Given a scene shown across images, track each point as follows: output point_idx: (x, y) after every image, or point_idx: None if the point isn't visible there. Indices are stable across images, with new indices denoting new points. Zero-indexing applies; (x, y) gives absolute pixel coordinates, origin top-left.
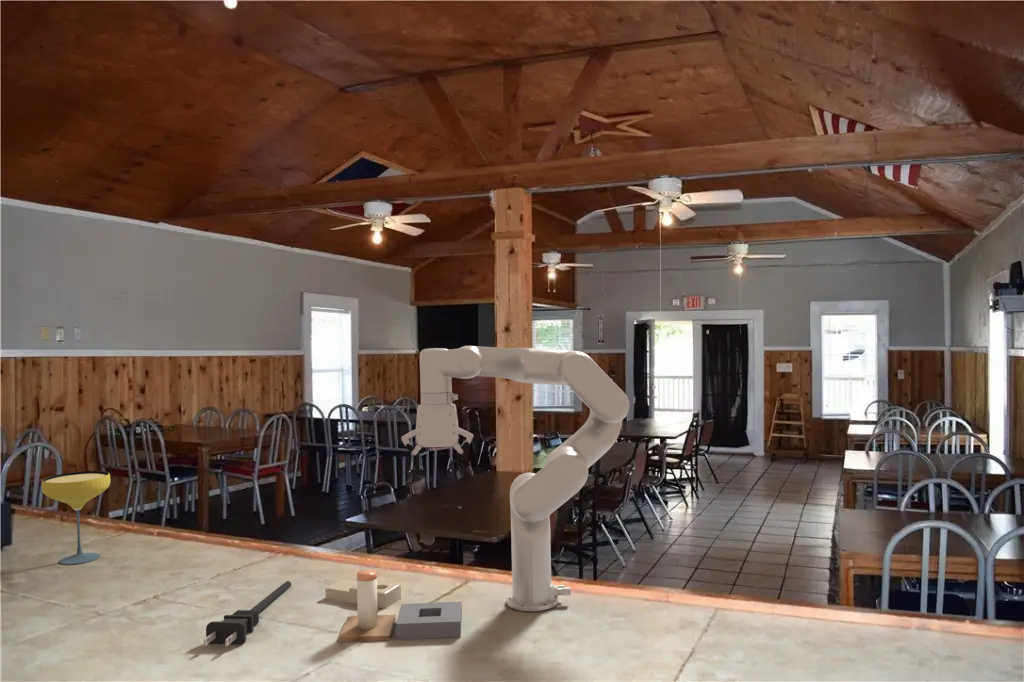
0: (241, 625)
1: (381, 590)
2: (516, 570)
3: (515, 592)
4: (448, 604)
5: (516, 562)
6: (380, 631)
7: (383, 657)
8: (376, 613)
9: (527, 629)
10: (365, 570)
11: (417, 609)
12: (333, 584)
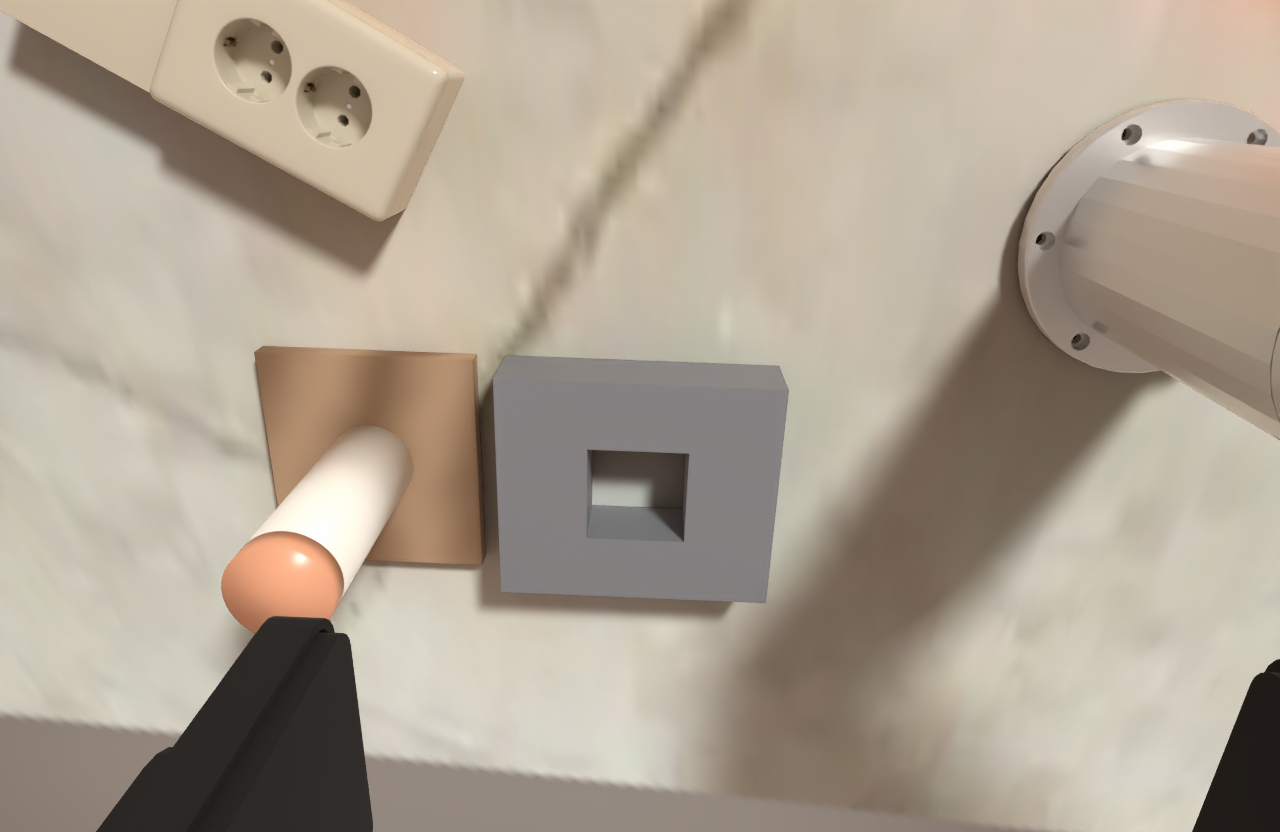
0: None
1: (350, 174)
2: (1160, 353)
3: (1086, 303)
4: (723, 417)
5: (1190, 373)
6: (439, 526)
7: (486, 677)
8: (397, 501)
9: (1032, 532)
10: (257, 559)
11: (577, 457)
12: None
